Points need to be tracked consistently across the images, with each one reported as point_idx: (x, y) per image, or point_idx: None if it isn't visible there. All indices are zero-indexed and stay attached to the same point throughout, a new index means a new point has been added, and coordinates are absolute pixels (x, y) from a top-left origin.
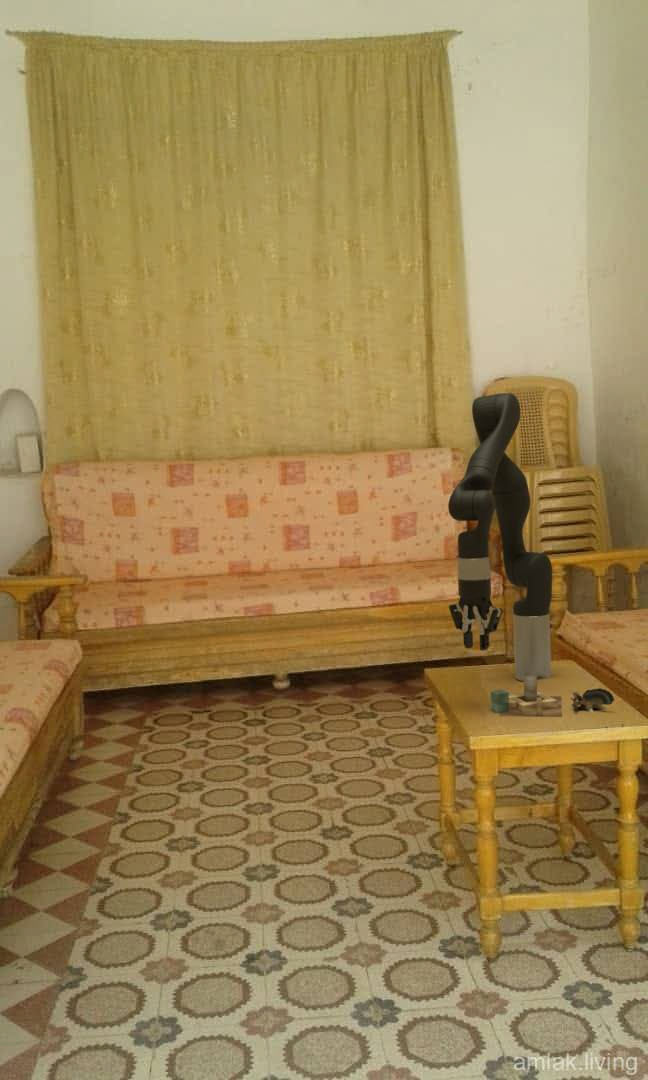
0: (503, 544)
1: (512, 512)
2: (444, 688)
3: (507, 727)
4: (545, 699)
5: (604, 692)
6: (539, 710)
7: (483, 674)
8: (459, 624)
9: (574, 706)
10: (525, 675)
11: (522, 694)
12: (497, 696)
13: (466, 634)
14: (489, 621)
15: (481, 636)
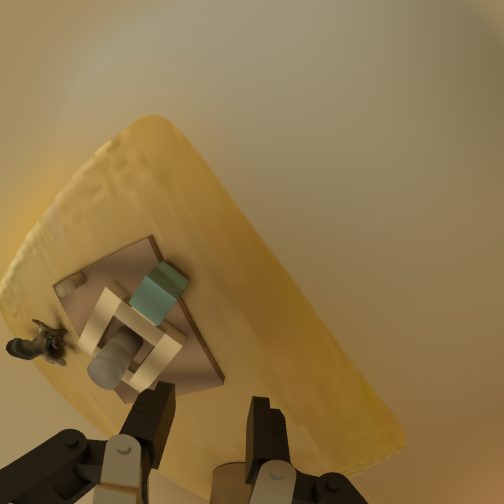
0: None
1: None
2: (370, 395)
3: (117, 199)
4: (96, 345)
5: (12, 351)
6: (73, 276)
7: (326, 466)
8: (322, 500)
9: (51, 329)
10: (116, 383)
11: (154, 367)
12: (147, 274)
13: (260, 452)
14: (40, 480)
15: (141, 431)
